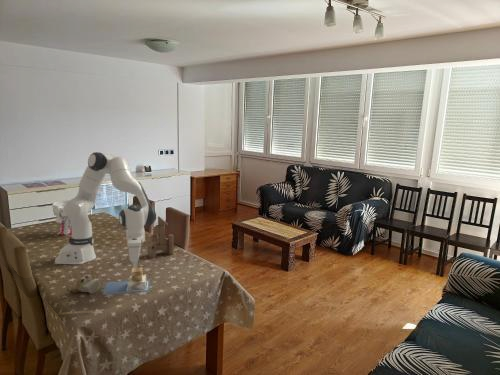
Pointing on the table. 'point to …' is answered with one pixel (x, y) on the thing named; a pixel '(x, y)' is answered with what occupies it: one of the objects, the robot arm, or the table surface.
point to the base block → (137, 284)
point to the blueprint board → (122, 288)
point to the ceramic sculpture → (85, 285)
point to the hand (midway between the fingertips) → (136, 263)
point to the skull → (62, 217)
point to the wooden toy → (160, 240)
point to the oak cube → (137, 274)
